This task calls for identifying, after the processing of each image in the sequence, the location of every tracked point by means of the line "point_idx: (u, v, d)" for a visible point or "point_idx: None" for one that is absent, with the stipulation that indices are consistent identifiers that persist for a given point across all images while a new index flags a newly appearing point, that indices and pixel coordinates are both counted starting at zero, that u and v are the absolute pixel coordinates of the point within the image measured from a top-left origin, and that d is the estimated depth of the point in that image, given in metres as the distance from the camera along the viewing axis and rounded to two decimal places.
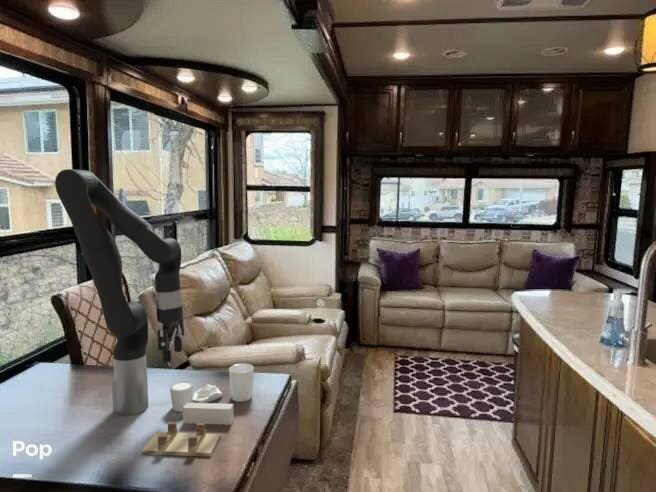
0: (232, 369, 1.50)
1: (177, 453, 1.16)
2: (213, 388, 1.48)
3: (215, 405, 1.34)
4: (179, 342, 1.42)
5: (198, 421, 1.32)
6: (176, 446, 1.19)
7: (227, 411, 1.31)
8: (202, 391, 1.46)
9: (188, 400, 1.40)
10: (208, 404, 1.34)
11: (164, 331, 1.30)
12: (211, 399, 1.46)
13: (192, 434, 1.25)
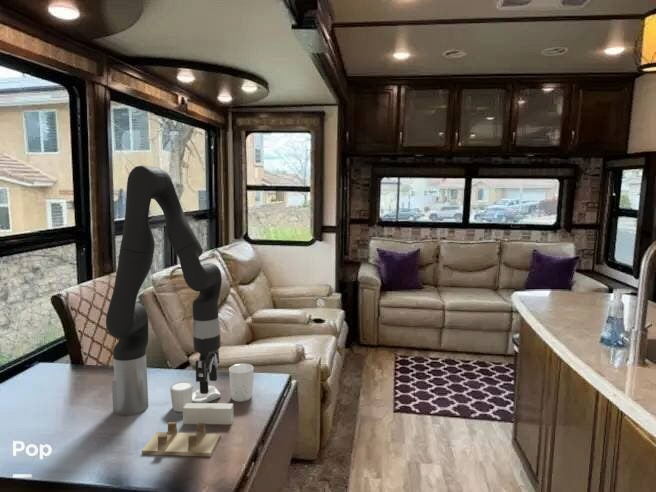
0: (232, 369, 1.50)
1: (177, 453, 1.16)
2: (211, 388, 1.48)
3: (215, 404, 1.34)
4: (214, 371, 1.36)
5: (198, 421, 1.32)
6: (176, 446, 1.19)
7: (227, 410, 1.32)
8: None
9: (188, 400, 1.40)
10: (208, 404, 1.34)
11: (202, 362, 1.24)
12: (209, 399, 1.46)
13: (192, 434, 1.25)
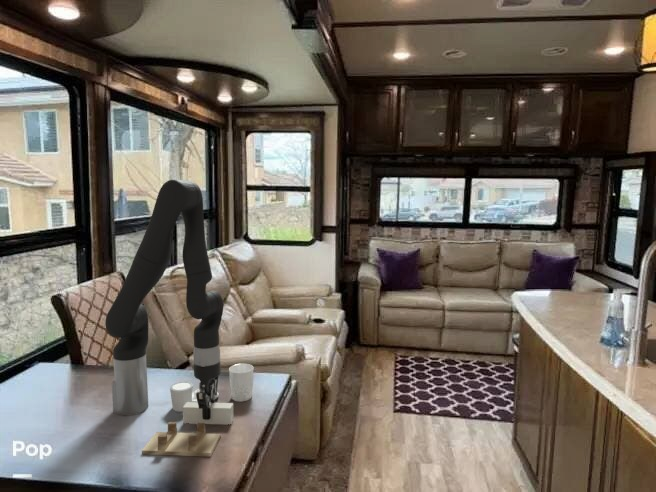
0: (232, 369, 1.50)
1: (177, 453, 1.16)
2: None
3: (215, 404, 1.34)
4: None
5: (198, 420, 1.32)
6: (176, 446, 1.19)
7: (227, 410, 1.31)
8: None
9: (188, 400, 1.40)
10: None
11: (203, 395, 1.26)
12: None
13: (192, 434, 1.25)
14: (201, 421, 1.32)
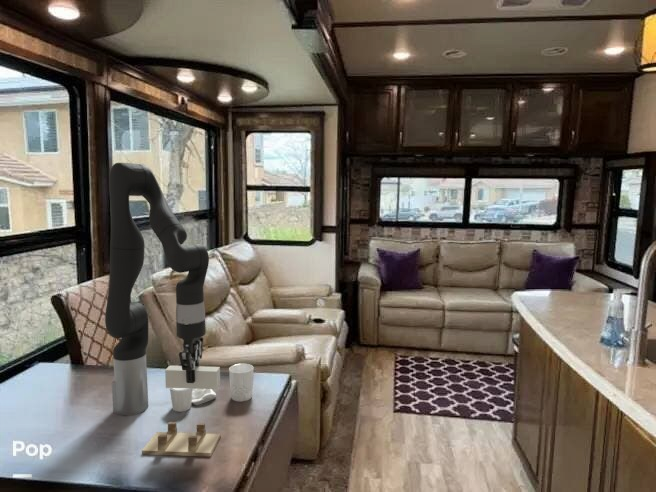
0: (232, 369, 1.50)
1: (177, 453, 1.16)
2: (207, 389, 1.47)
3: (200, 367, 1.24)
4: None
5: (181, 384, 1.23)
6: (176, 446, 1.19)
7: (213, 373, 1.22)
8: (196, 392, 1.45)
9: (188, 400, 1.40)
10: None
11: (186, 355, 1.16)
12: (205, 400, 1.45)
13: (192, 434, 1.25)
14: (185, 385, 1.23)
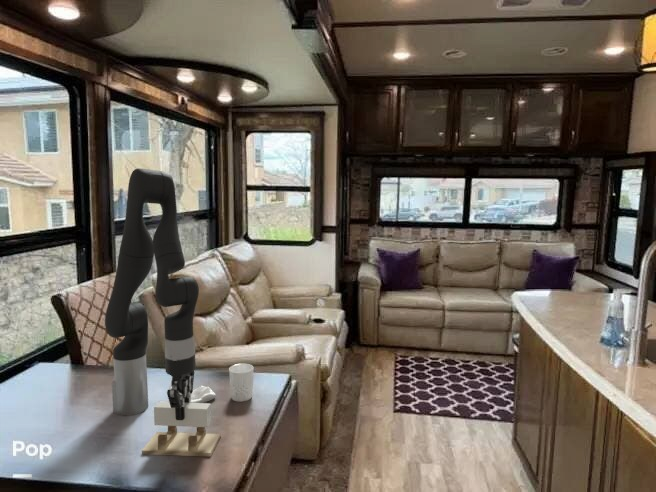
0: (232, 369, 1.50)
1: (177, 453, 1.16)
2: (206, 389, 1.47)
3: (190, 404, 1.20)
4: (186, 402, 1.21)
5: (171, 422, 1.19)
6: (176, 446, 1.19)
7: (202, 411, 1.18)
8: (195, 392, 1.45)
9: None
10: None
11: (175, 393, 1.12)
12: (204, 400, 1.45)
13: (192, 434, 1.25)
14: (174, 423, 1.19)
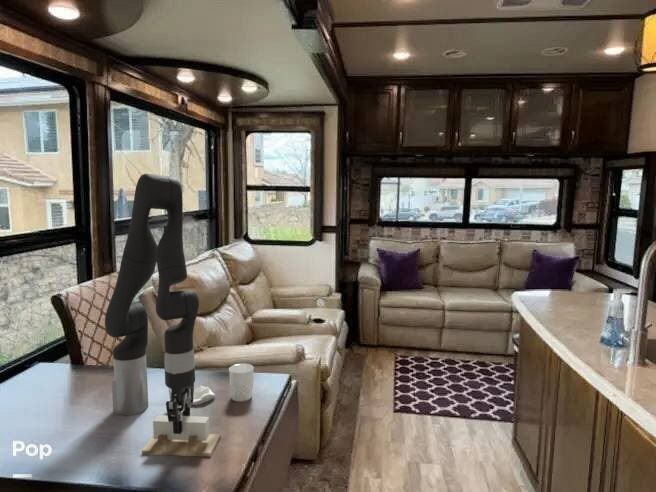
0: (232, 369, 1.50)
1: (177, 453, 1.16)
2: (206, 389, 1.47)
3: (189, 417, 1.21)
4: (187, 411, 1.22)
5: (170, 436, 1.19)
6: (176, 446, 1.19)
7: (201, 425, 1.18)
8: (194, 392, 1.45)
9: None
10: None
11: (174, 404, 1.12)
12: (204, 400, 1.45)
13: None
14: (173, 437, 1.19)
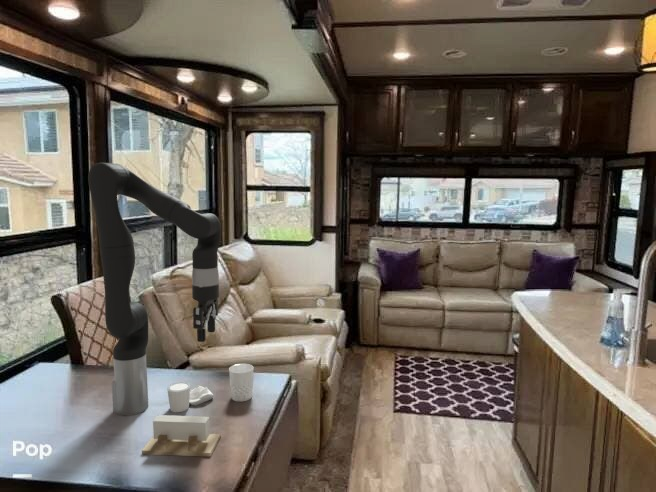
0: (232, 369, 1.50)
1: (177, 453, 1.16)
2: (204, 389, 1.47)
3: (189, 417, 1.21)
4: (213, 322, 1.37)
5: (170, 436, 1.19)
6: (176, 446, 1.19)
7: (201, 425, 1.18)
8: (193, 393, 1.45)
9: (185, 401, 1.40)
10: (181, 417, 1.21)
11: (200, 309, 1.25)
12: (202, 400, 1.45)
13: None
14: (173, 437, 1.19)
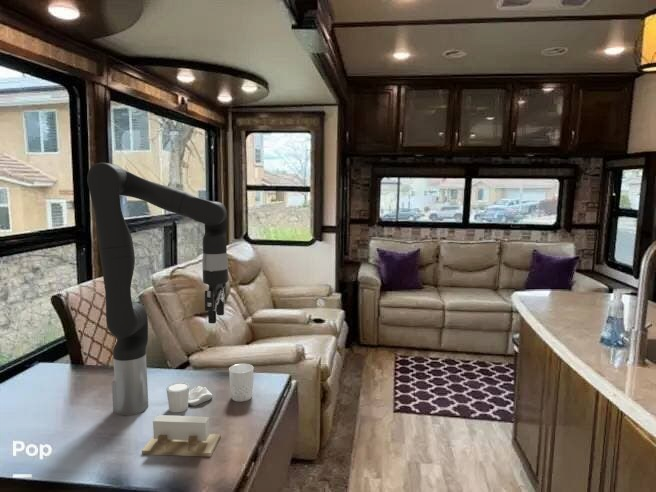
0: (232, 369, 1.50)
1: (177, 453, 1.16)
2: (203, 389, 1.47)
3: (189, 417, 1.21)
4: (221, 306, 1.44)
5: (170, 436, 1.19)
6: (176, 446, 1.19)
7: (201, 425, 1.18)
8: (192, 393, 1.45)
9: (185, 401, 1.40)
10: (181, 417, 1.21)
11: (211, 292, 1.32)
12: (202, 401, 1.45)
13: None
14: (173, 437, 1.19)
